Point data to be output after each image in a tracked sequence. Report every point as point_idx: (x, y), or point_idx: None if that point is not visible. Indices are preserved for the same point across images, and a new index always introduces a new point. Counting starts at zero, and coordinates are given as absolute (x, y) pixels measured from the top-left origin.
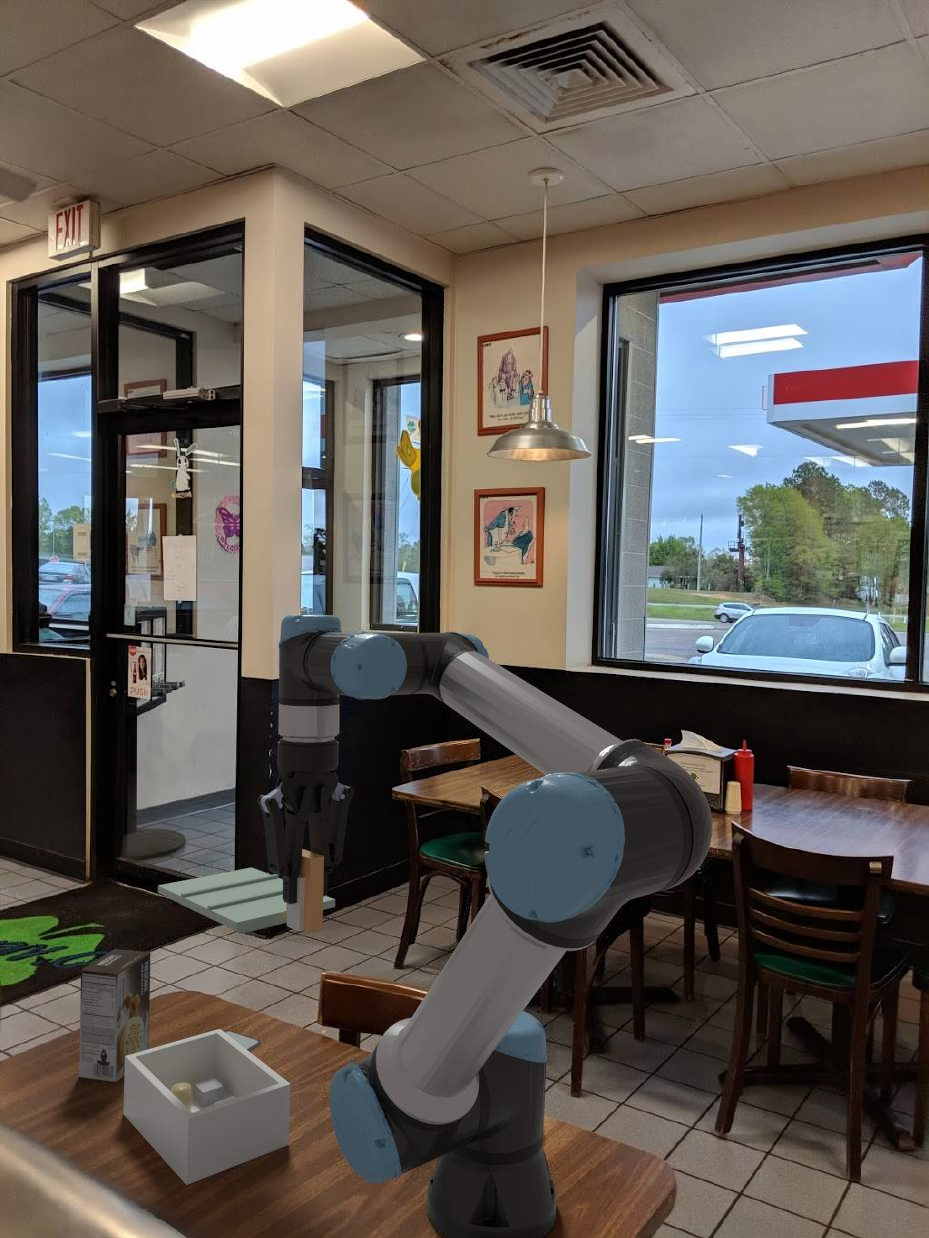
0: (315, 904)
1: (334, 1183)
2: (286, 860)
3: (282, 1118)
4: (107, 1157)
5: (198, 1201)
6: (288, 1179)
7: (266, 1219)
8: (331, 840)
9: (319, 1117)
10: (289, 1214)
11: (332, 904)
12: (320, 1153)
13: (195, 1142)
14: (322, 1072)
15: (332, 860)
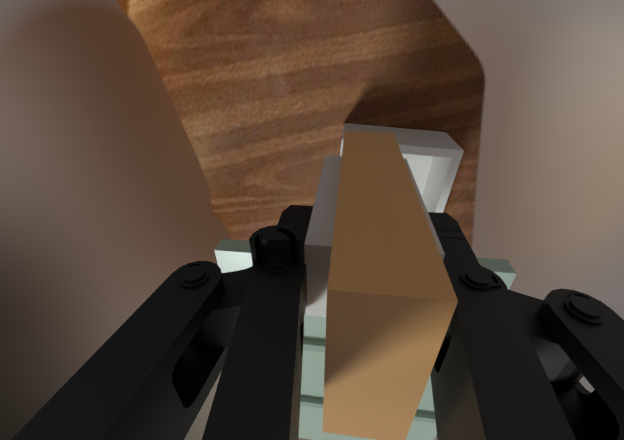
0: (377, 159)
1: (351, 34)
2: (608, 365)
3: (350, 130)
4: (458, 207)
5: (455, 103)
6: (378, 74)
7: (436, 30)
8: (163, 411)
9: (296, 141)
10: (416, 20)
11: (226, 243)
12: (330, 90)
13: (447, 141)
14: (253, 198)
15: (223, 288)
